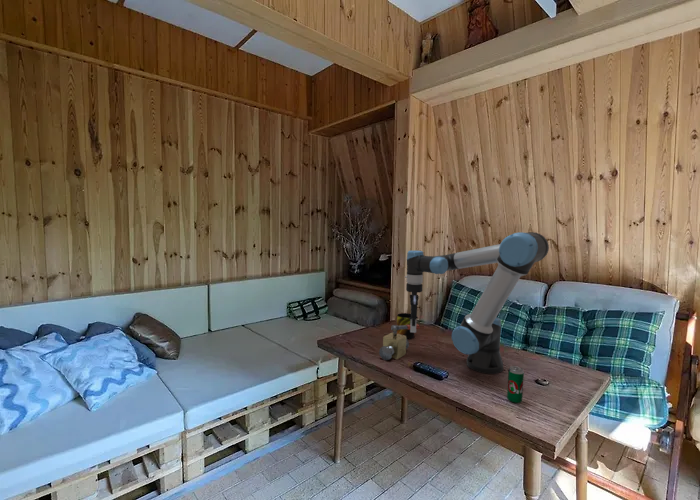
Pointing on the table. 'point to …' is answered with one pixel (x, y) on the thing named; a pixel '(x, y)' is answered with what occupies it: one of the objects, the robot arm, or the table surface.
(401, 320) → the mug
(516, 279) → the robot arm
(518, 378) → the soda can
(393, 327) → the lever
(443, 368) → the table surface
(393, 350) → the valve
